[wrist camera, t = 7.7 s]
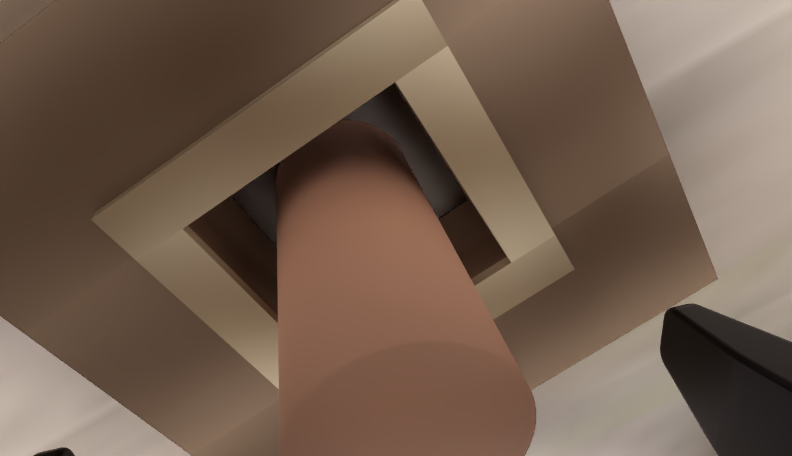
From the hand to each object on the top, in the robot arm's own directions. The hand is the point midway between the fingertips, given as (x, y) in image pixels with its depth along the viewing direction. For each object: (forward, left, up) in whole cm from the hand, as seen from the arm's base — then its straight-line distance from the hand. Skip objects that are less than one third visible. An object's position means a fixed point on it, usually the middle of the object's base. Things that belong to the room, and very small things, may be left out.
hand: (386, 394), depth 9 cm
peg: (0, 0, -8) cm, 8 cm away
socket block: (0, 0, -8) cm, 8 cm away
